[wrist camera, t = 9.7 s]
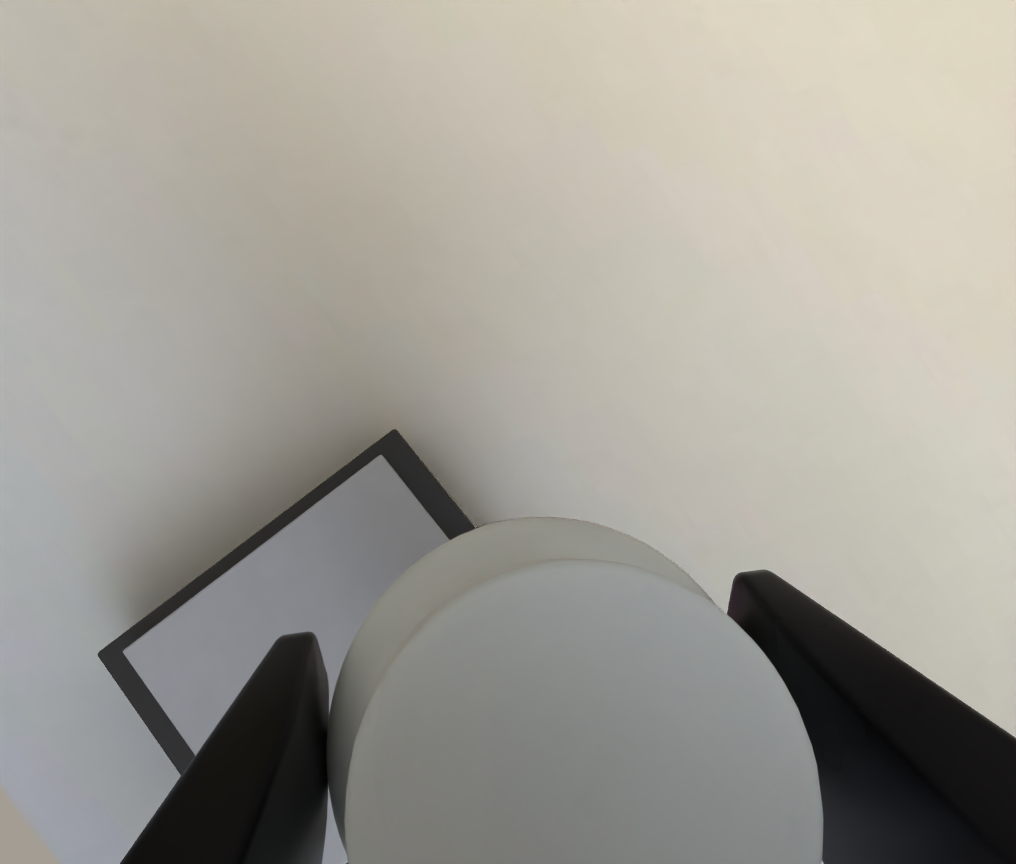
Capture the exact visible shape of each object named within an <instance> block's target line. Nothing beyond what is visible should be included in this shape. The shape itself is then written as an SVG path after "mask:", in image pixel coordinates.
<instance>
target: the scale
mask: <svg viewBox="0 0 1016 864" xmlns="http://www.w3.org/2000/svg"><path fill="white" fill-rule="evenodd" d="M472 529H475V527H474V526H473V525H472V523H471V522H470V521H469V520H468V518H467V517H466V516H465V515H464V513H463V512H462V511H461V510H460V508H459V507H458V506H457V505H456V503H455V502H454V501H453V500H452V498H451V497H450V496H449V495H448V493H447V492H446V491H445V490H444V488H443V487H442V486H441V485H440V483H439V482H438V481H437V480H436V478H435V477H434V476H433V475H432V473H431V472H430V471H429V470H428V468H427V467H426V466H425V465H424V463H423V462H422V461H421V460H420V458H419V457H418V456H417V455H416V453H415V452H414V451H413V450H412V448H411V447H410V446H409V445H408V443H407V442H406V441H405V440H404V438H403V437H402V436H401V435H400V433H399V432H398V431H397V430H395V429H394V430H392V431H390V432H389V433H388V434H386V435H385V436H384V437H382V438H381V439H380V440H378V441H377V442H376V443H374V444H373V445H372V446H370V447H369V448H368V449H367V450H365V451H364V452H363V453H361V454H360V455H359V456H357V457H356V458H355V459H353V460H352V461H351V462H349V463H348V464H347V465H345V466H344V467H343V468H341V469H340V470H339V471H337V472H336V473H335V474H333V475H332V476H331V477H329V478H328V479H327V480H326V481H324V482H323V483H322V484H320V485H319V486H318V487H316V488H315V489H314V490H312V491H311V492H310V493H308V494H307V495H306V496H304V497H303V498H302V499H300V500H299V501H298V502H296V503H295V504H294V505H292V506H291V507H290V508H289V509H287V510H286V511H285V512H283V513H282V514H281V515H279V516H278V517H277V518H275V519H274V520H273V521H271V522H270V523H269V524H267V525H266V526H265V527H263V528H262V529H261V530H259V531H258V532H257V533H255V534H254V535H253V536H251V537H250V538H249V539H248V540H246V541H245V542H244V543H242V544H241V545H240V546H238V547H237V548H236V549H234V550H233V551H232V552H230V553H229V554H228V555H226V556H225V557H224V558H222V559H221V560H220V561H218V562H217V563H216V564H214V565H213V566H212V567H211V568H209V569H208V570H207V571H205V572H204V573H203V574H201V575H200V576H199V577H197V578H196V579H195V580H193V581H192V582H191V583H189V584H188V585H187V586H185V587H184V588H183V589H181V590H180V591H179V592H177V593H176V594H175V595H173V596H172V597H171V598H170V599H168V600H167V601H166V602H164V603H163V604H162V605H160V606H159V607H158V608H156V609H155V610H154V611H152V612H151V613H150V614H148V615H147V616H146V617H144V618H143V619H142V620H140V621H139V622H138V623H136V624H135V625H134V626H133V627H131V628H130V629H129V630H127V631H126V632H125V633H123V634H122V635H121V636H119V637H118V638H117V639H115V640H114V641H113V642H111V643H110V644H109V645H107V646H106V647H105V648H103V649H102V650H101V651H100V652H99V653H98V657H99V658H100V660H101V661H102V662H103V664H104V665H105V667H106V668H107V670H108V671H109V672H110V674H111V675H112V677H113V678H114V680H115V681H116V683H117V684H118V685H119V687H120V688H121V690H122V691H123V693H124V694H125V695H126V697H127V698H128V700H129V701H130V703H131V704H132V706H133V707H134V708H135V710H136V711H137V713H138V714H139V716H140V717H141V718H142V720H143V721H144V723H145V724H146V726H147V727H148V729H149V730H150V731H151V733H152V734H153V736H154V737H155V739H156V740H157V741H158V743H159V744H160V746H161V747H162V749H163V750H164V752H165V753H166V754H167V756H168V757H169V759H170V760H171V762H172V763H173V764H174V766H175V767H176V769H177V770H178V772H179V773H180V774H181V776H182V774H183V773H184V771H185V770H186V768H187V767H188V766H189V764H190V763H191V761H192V760H193V758H194V757H195V756H196V754H197V753H198V751H199V750H200V748H201V747H202V746H203V744H204V743H205V741H206V740H207V738H208V737H209V736H210V734H211V733H212V731H213V730H214V728H215V727H216V725H217V724H218V723H219V721H220V720H221V718H222V717H223V715H224V714H225V713H226V711H227V710H228V708H229V707H230V705H231V704H232V703H233V701H234V700H235V698H236V697H237V695H238V694H239V693H240V691H241V690H242V688H243V687H244V685H245V684H246V683H247V681H248V680H249V678H250V677H251V675H252V674H253V673H254V671H255V670H256V668H257V667H258V665H259V664H260V663H261V661H262V660H263V658H264V657H265V655H266V654H267V653H268V651H269V650H270V648H271V647H272V645H273V644H274V643H275V641H276V640H277V639H278V638H279V637H280V636H282V635H286V634H293V633H300V632H307V631H309V632H313V633H314V634H315V635H316V637H317V640H318V643H319V647H320V650H321V654H322V657H323V661H324V665H325V668H326V672H327V676H328V683H329V713H330V707H331V702H332V698H333V694H334V690H335V686H336V682H337V679H338V676H339V673H340V670H341V667H342V664H343V661H344V659H345V656H346V654H347V652H348V650H349V648H350V645H351V643H352V641H353V639H354V637H355V635H356V633H357V632H358V630H359V628H360V627H361V625H362V623H363V621H364V620H365V618H366V617H367V615H368V614H369V612H370V611H371V609H372V607H373V605H374V604H375V602H376V600H377V599H378V598H380V597H381V596H382V595H383V594H384V593H385V592H386V591H387V589H388V588H389V587H390V586H391V585H392V584H393V583H394V582H395V581H396V580H397V579H398V578H399V577H400V576H401V575H402V574H403V573H404V572H405V571H406V570H407V569H408V568H409V567H411V566H412V565H413V564H415V563H416V562H417V561H418V560H419V559H421V558H422V557H423V556H424V555H426V554H427V553H429V552H431V551H432V550H434V549H436V548H437V547H439V546H440V545H442V544H444V543H446V542H448V541H450V540H451V539H453V538H455V537H457V536H459V535H461V534H463V533H466V532H468V531H470V530H472ZM322 864H348V860H347V854H346V852H345V850H344V847H343V844H342V842H341V839H340V836H339V833H338V829H337V826H336V822H335V819H334V814H333V809H332V804H331V800H330V793H329V786H328V808H327V824H326V835H325V844H324V852H323V860H322Z"/></svg>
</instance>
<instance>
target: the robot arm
mask: <svg viewBox="0 0 1016 864" xmlns="http://www.w3.org/2000/svg"><path fill="white" fill-rule="evenodd" d="M727 615H728V616H729V617H731V618H732V619H733V620H734V621H735V622H736V623H737V624H738V625H739V626H740V627H741V628H742V629H743V630H744V631H745V632H746V633H747V634H748V635H749V636H750V637H751V638H752V639H753V640H754V642H755V643H756V644H757V645H758V646H759V647H760V649H761V650H762V651H763V652H764V653H765V655H766V656H767V658H768V659H769V660H770V662H771V663H772V664H773V666H774V667H775V669H776V670H777V672H778V673H779V675H780V677H781V678H782V680H783V681H784V683H785V685H786V687H787V688H788V690H789V692H790V694H791V696H792V698H793V700H794V702H795V704H796V706H797V708H798V710H799V712H800V715H801V718H802V720H803V723H804V726H805V728H806V731H807V734H808V736H809V739H810V742H811V744H812V748H813V752H814V756H815V760H816V763H817V769H818V777H819V784H820V792H821V799H822V808H823V851H822V861H823V863H824V864H1016V738H1015V737H1014V736H1012V735H1011V734H1009V733H1008V732H1006V731H1005V730H1003V729H1002V728H1000V727H999V726H997V725H996V724H995V723H993V722H992V721H990V720H989V719H987V718H986V717H984V716H983V715H981V714H980V713H978V712H977V711H975V710H974V709H972V708H971V707H970V706H968V705H967V704H965V703H964V702H962V701H961V700H959V699H958V698H956V697H955V696H953V695H952V694H950V693H949V692H948V691H946V690H945V689H943V688H942V687H940V686H939V685H937V684H936V683H934V682H933V681H931V680H930V679H928V678H927V677H925V676H924V675H923V674H921V673H920V672H918V671H917V670H915V669H914V668H912V667H911V666H909V665H908V664H906V663H905V662H903V661H902V660H900V659H899V658H898V657H896V656H895V655H893V654H892V653H890V652H889V651H887V650H886V649H884V648H883V647H881V646H880V645H878V644H877V643H875V642H874V641H873V640H871V639H870V638H868V637H867V636H865V635H864V634H862V633H861V632H859V631H858V630H856V629H855V628H853V627H852V626H850V625H849V624H848V623H846V622H845V621H843V620H842V619H840V618H839V617H837V616H836V615H834V614H833V613H831V612H830V611H828V610H827V609H826V608H824V607H823V606H821V605H820V604H818V603H817V602H815V601H814V600H812V599H811V598H809V597H808V596H806V595H805V594H803V593H802V592H801V591H799V590H798V589H796V588H795V587H793V586H792V585H790V584H789V583H787V582H786V581H784V580H783V579H781V578H780V577H778V576H777V575H776V574H774V573H772V572H770V571H768V570H756V571H749V572H741V573H738V574H737V575H736V576H735V578H734V580H733V584H732V589H731V595H730V601H729V606H728V612H727ZM328 721H329V683H328V676H327V672H326V668H325V665H324V661H323V657H322V654H321V650H320V647H319V643H318V640H317V637H316V635H315V634H314V633H313V632H309V631H307V632H300V633H293V634H286V635H282V636H280V637H279V638H278V639H277V640H276V641H275V643H274V644H273V645H272V647H271V648H270V650H269V651H268V653H267V654H266V655H265V657H264V658H263V660H262V661H261V663H260V664H259V665H258V667H257V668H256V670H255V671H254V673H253V674H252V675H251V677H250V678H249V680H248V681H247V683H246V684H245V685H244V687H243V688H242V690H241V691H240V693H239V694H238V695H237V697H236V698H235V700H234V701H233V703H232V704H231V705H230V707H229V708H228V710H227V711H226V713H225V714H224V715H223V717H222V718H221V720H220V721H219V723H218V724H217V725H216V727H215V728H214V730H213V731H212V733H211V734H210V736H209V737H208V738H207V740H206V741H205V743H204V744H203V746H202V747H201V748H200V750H199V751H198V753H197V754H196V756H195V757H194V758H193V760H192V761H191V763H190V764H189V766H188V767H187V768H186V770H185V771H184V773H183V774H182V776H181V777H180V778H179V780H178V781H177V783H176V784H175V786H174V787H173V788H172V790H171V791H170V793H169V794H168V796H167V797H166V798H165V800H164V801H163V803H162V804H161V806H160V807H159V808H158V810H157V811H156V813H155V814H154V816H153V817H152V818H151V820H150V821H149V823H148V824H147V826H146V827H145V829H144V830H143V831H142V833H141V834H140V836H139V837H138V839H137V840H136V841H135V843H134V844H133V846H132V847H131V849H130V850H129V851H128V853H127V854H126V856H125V857H124V859H123V860H122V861H121V863H120V864H322V860H323V852H324V844H325V835H326V824H327V808H328V778H327V762H326V746H327V731H328Z"/></svg>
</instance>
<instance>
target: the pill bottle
mask: <svg viewBox="0 0 1016 864" xmlns="http://www.w3.org/2000/svg"><path fill="white" fill-rule="evenodd" d="M326 762H327V778H328V786H329V793H330V800H331V804H332V809H333V814H334V819H335V822H336V826H337V829H338V833H339V836H340V839H341V842H342V844H343V847H344V850H345V852H346V854H347V860H348V864H821V863H822V851H823V808H822V799H821V792H820V784H819V777H818V769H817V763H816V760H815V756H814V752H813V748H812V744H811V742H810V739H809V736H808V734H807V731H806V728H805V726H804V723H803V720H802V718H801V715H800V712H799V710H798V708H797V706H796V704H795V702H794V700H793V698H792V696H791V694H790V692H789V690H788V688H787V687H786V685H785V683H784V681H783V680H782V678H781V677H780V675H779V673H778V672H777V670H776V669H775V667H774V666H773V664H772V663H771V662H770V660H769V659H768V658H767V656H766V655H765V653H764V652H763V651H762V650H761V649H760V647H759V646H758V645H757V644H756V643H755V642H754V640H753V639H752V638H751V637H750V636H749V635H748V634H747V633H746V632H745V631H744V630H743V629H742V628H741V627H740V626H739V625H738V624H737V623H736V622H735V621H734V620H733V619H732V618H731V617H729V616H728V615H727V614H726V613H725V612H724V611H722V610H721V609H720V608H719V607H718V606H716V605H715V603H714V602H713V601H712V599H711V598H710V597H709V596H708V595H707V594H706V592H705V591H704V590H703V589H702V588H701V587H700V586H699V585H698V584H697V583H696V582H695V581H694V580H693V579H692V578H691V576H690V575H689V574H687V573H686V572H685V571H684V570H683V569H681V568H680V567H679V566H678V565H676V564H675V563H674V562H672V561H671V560H670V559H668V558H667V557H665V556H664V555H663V554H661V553H660V552H659V551H657V550H655V549H654V548H652V547H651V546H649V545H647V544H646V543H644V542H642V541H639V540H637V539H635V538H633V537H631V536H629V535H627V534H624V533H622V532H619V531H617V530H614V529H611V528H608V527H605V526H602V525H598V524H595V523H591V522H587V521H581V520H575V519H567V518H555V517H536V518H519V519H511V520H504V521H498V522H492V523H488V524H485V525H482V526H480V527H477V528H475V529H472V530H470V531H468V532H466V533H463V534H461V535H459V536H457V537H455V538H453V539H451V540H450V541H448V542H446V543H444V544H442V545H440V546H439V547H437V548H436V549H434V550H432V551H431V552H429V553H427V554H426V555H424V556H423V557H422V558H421V559H419V560H418V561H417V562H416V563H415V564H413V565H412V566H411V567H409V568H408V569H407V570H406V571H405V572H404V573H403V574H402V575H401V576H400V577H399V578H398V579H397V580H396V581H395V582H394V583H393V584H392V585H391V586H390V587H389V588H388V589H387V591H386V592H385V593H384V594H383V595H382V596H381V597H380V598H378V599H377V600H376V602H375V604H374V605H373V607H372V609H371V611H370V612H369V614H368V615H367V617H366V618H365V620H364V621H363V623H362V625H361V627H360V628H359V630H358V632H357V633H356V635H355V637H354V639H353V641H352V643H351V645H350V648H349V650H348V652H347V654H346V656H345V659H344V661H343V664H342V667H341V670H340V673H339V676H338V679H337V682H336V686H335V690H334V694H333V698H332V702H331V707H330V713H329V721H328V731H327V746H326Z"/></svg>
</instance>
